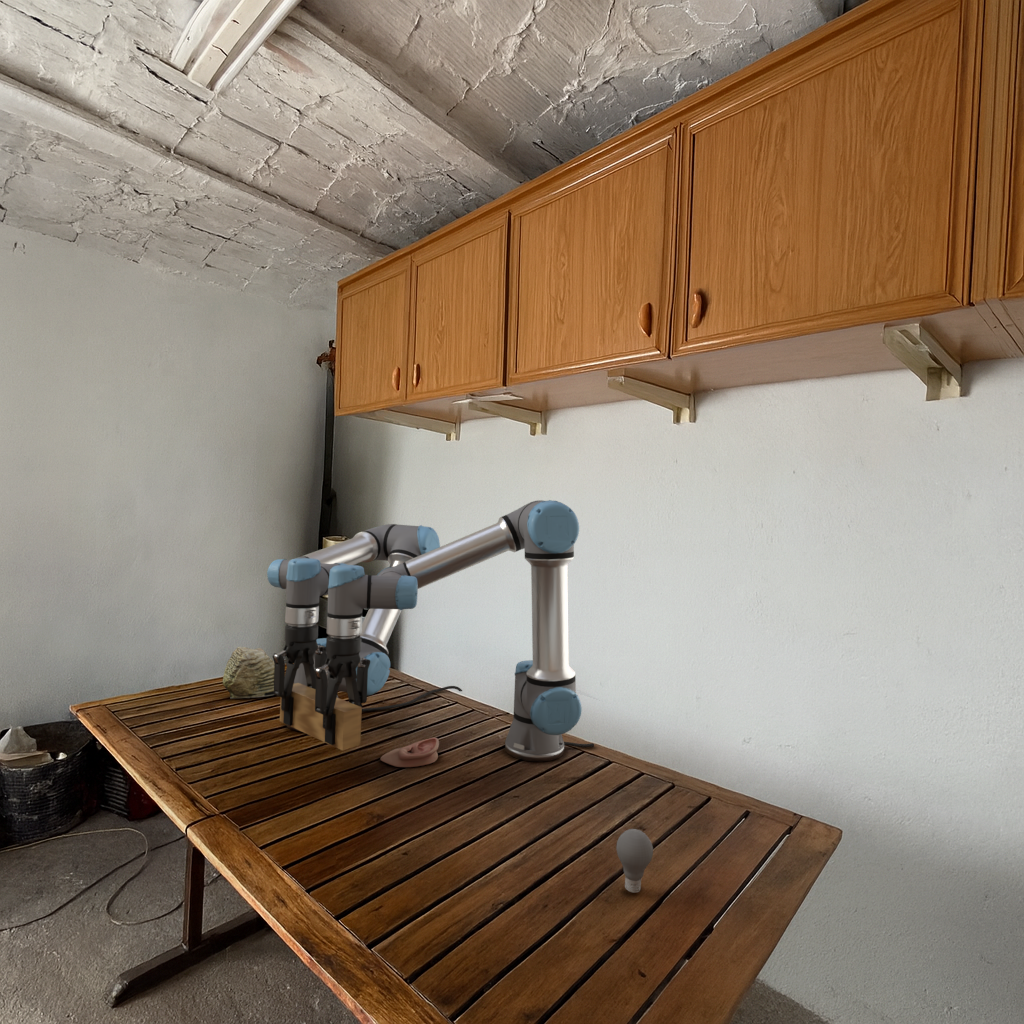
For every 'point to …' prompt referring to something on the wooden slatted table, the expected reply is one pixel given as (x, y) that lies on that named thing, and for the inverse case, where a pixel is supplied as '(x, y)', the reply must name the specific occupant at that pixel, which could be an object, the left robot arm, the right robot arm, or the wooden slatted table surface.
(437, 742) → the anatomical model
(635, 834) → the light bulb
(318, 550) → the left robot arm
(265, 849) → the wooden slatted table surface
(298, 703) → the bar
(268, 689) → the fossil
